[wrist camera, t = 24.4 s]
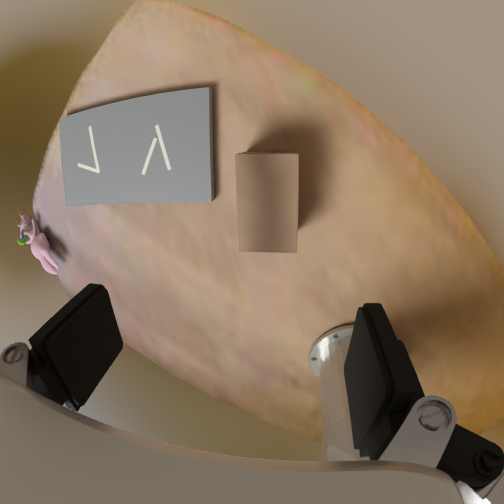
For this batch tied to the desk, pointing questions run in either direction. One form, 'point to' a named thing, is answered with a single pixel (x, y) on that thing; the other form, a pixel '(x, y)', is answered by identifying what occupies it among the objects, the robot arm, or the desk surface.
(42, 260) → the pink plastic figure
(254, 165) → the block
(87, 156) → the slate board
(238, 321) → the desk surface
